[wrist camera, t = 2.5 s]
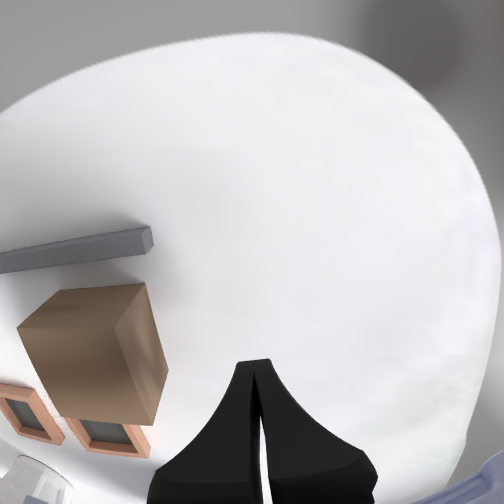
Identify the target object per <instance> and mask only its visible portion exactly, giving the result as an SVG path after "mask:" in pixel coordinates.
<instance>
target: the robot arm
mask: <svg viewBox="0 0 504 504" xmlns="http://www.w3.org/2000/svg"><path fill="white" fill-rule="evenodd" d="M260 416H261V420H262V425H263V430H264V434H265V441H266V453H267V467H268V479H269V485H270V491H271V496H272V502H273V504H374V503H375V501H374V498H373V495H372V492H373V489H374V487H375V485H376V482H377V479H378V475H377V472H376V470H375V468H374V466H373V464H372V463H371V461H370V460H369V458H368V457H367V455H366V454H365V453H364V451H362V450H360V449H358V448H356V447H354V446H352V445H350V444H349V443H347V442H345V441H343V440H342V439H340V438H338V437H337V436H335V435H334V434H332V433H331V432H330V431H328V430H327V429H326V428H324V427H323V426H322V425H320V424H319V423H318V422H317V421H315V420H314V419H313V418H312V417H311V416H310V415H309V414H308V413H307V412H306V411H305V410H304V409H303V408H302V407H301V406H300V405H299V404H298V403H297V402H296V400H295V399H294V398H293V397H292V396H291V394H290V393H289V392H288V390H287V389H286V387H285V386H284V385H283V383H282V382H281V380H280V378H279V377H278V375H277V373H276V371H275V369H274V367H273V365H272V362H271V360H270V359H260V360H251V361H242V362H238V363H237V364H236V368H235V371H234V374H233V377H232V379H231V382H230V384H229V386H228V389H227V391H226V393H225V395H224V397H223V399H222V400H221V402H220V404H219V406H218V407H217V409H216V411H215V412H214V414H213V415H212V417H211V418H210V420H209V421H208V422H207V424H206V425H205V426H204V428H203V429H202V430H201V431H200V432H199V434H198V435H197V436H196V437H195V438H194V439H193V440H192V441H191V442H190V443H189V444H188V445H187V446H186V447H185V448H184V449H183V450H182V451H181V452H180V453H179V454H177V455H176V456H175V457H174V458H173V459H171V460H170V461H169V462H167V463H166V464H165V465H163V466H162V467H160V468H159V469H158V470H156V471H155V472H154V476H153V479H152V482H151V484H150V487H149V492H148V497H147V503H146V504H263V494H262V483H261V473H260ZM23 504H49V503H47V502H45V501H43V500H40V499H37V498H35V497H32V496H30V495H26V498H25V500H24V502H23ZM411 504H504V449H503V450H502V451H500V452H499V453H497V454H495V455H494V456H492V457H491V458H489V459H488V460H487V461H486V462H485V463H484V464H483V466H482V467H481V468H480V470H479V471H478V472H477V473H475V474H473V475H471V476H470V477H468V478H466V479H464V480H462V481H460V482H458V483H456V484H454V485H452V486H450V487H448V488H446V489H444V490H442V491H440V492H437V493H435V494H433V495H431V496H428V497H426V498H424V499H421V500H419V501H417V502H414V503H411Z"/></svg>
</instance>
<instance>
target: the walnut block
mask: <svg viewBox="0 0 504 504" xmlns="http://www.w3.org/2000/svg"><path fill="white" fill-rule="evenodd" d="M17 331H18V333H19V335H20V338H21V340H22V342H23V345H24V347H25V349H26V352H27V354H28V356H29V358H30V360H31V362H32V364H33V366H34V368H35V370H36V372H37V374H38V376H39V378H40V380H41V382H42V384H43V386H44V388H45V390H46V391H47V393H48V395H49V397H50V399H51V400H52V402H53V404H54V406H55V407H56V409H57V411H58V412H59V414H60V416H63V417H69V418H75V419H82V420H89V421H98V422H107V423H117V424H129V425H146V426H153V423H154V419H155V416H156V412H157V408H158V405H159V401H160V398H161V394H162V391H163V388H164V384H165V381H166V377H167V374H168V371H169V370H168V366H167V363H166V360H165V356H164V353H163V350H162V346H161V343H160V339H159V336H158V332H157V328H156V325H155V321H154V317H153V313H152V309H151V305H150V301H149V297H148V293H147V289H146V285H145V283H140V284H129V285H117V286H106V287H93V288H81V289H68V290H59V291H58V292H57V293H55V294H54V295H53V296H52V297H51V298H50V299H48V300H47V301H46V302H45V303H44V304H43V305H41V306H40V307H39V308H38V309H37V310H36V311H35V312H34V313H32V314H31V315H30V316H29V317H28V318H27V319H26V320H25V321H23V322H22V323H21V324H20V325H19V326H18V327H17Z"/></svg>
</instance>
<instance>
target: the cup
mask: <svg viewBox="0 0 504 504" xmlns="http://www.w3.org/2000/svg"><path fill="white" fill-rule="evenodd" d="M74 493H75V492H74V489H73V487H72V486H71V485H70V483H69V482H68V481H67V480H66V479H64V478H63V477H62V476H61V475H59V474H58V473H57V472H55V471H54V470H52V469H51V468H49V467H48V466H46V465H44V464H42V463H41V462H39V461H37V460H35V459H32V458H29V457H27V456H19V457H18V459H17V460H16V462H15V464H14V465H13V466H12V468H11V469H10V470H9V471H8V472H7V473H6V474H5V475H4V477H3V478H2V479H1V480H0V504H23V502H24V500H25V498H26V495H30V496H32V497H35V498H37V499H40V500H43V501H45V502H47V503H49V504H72V499H73V496H74Z"/></svg>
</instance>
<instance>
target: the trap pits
mask: <svg viewBox="0 0 504 504" xmlns="http://www.w3.org/2000/svg"><path fill="white" fill-rule="evenodd" d="M0 409H1V411H2V412H3V414H4V415H5V417H6V418H7V419H8V421H9V422H10V424H11V425H12V427H13V428H14V429H15V431H16V432H17V433H18V435H21V436H24V437H28V438H31V439H35V440H39V441H43V442H47V443H51V444H55V445H60V446H61V444H62V442H63V440H64V438H65V436H64V435H63V433H62V432H61V431H60V429H59V428H58V426H57V425H56V423H55V422H54V420H53V418H52V417H51V415H50V414H49V412H48V411H47V409H46V407H45V406H44V404H43V402H42V401H41V399H40V397H39V396H38V394H37V392H36V390H35V389H29V388H23V387H17V386H12V385H6V384H1V383H0ZM64 418H65V420H66V422H67V423H68V425H69V426H70V428H71V429H72V431H73V432H74V434H75V435H76V437H77V438H78V440H79V441H80V442H81V444H82V445H83V447H84V448H85V449H86V451H91V452H97V453H103V454H111V455H119V456H128V457H138V458H149V454H150V449H151V447H150V445H149V443H148V441H147V440H146V438H145V436H144V434H143V432H142V430H141V428H140V426H139V425H129V424H117V423H107V422H98V421H89V420H82V419H75V418H69V417H64Z"/></svg>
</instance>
